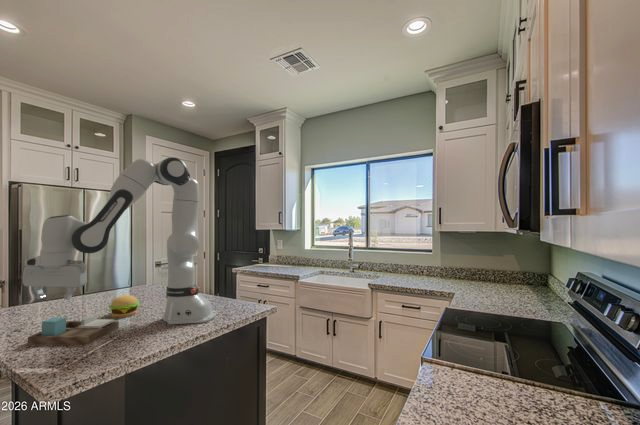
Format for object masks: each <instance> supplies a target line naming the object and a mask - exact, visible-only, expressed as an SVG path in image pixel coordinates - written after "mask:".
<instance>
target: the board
mask: <svg viewBox="0 0 640 425" xmlns="http://www.w3.org/2000/svg"><path fill="white" fill-rule="evenodd" d="M119 322H120V321H117V320H114V322H112V323H110V324H108V325H106V326H104V327H102V328H78V326H80V325H81V320H66V332H63V333H61V334H59V335H56V336H41V334H42V330H41V331H39V332H37V333H34V334H31V335H29V336H27V345H41V346H42V345H59V346H60V345H61V346H62V345H63V346H65V345H67V346H68V345H69V346H70V345H71V346H72V345H73V346H75V345H79V346H80V345H82V346H86V345H89V344H90V343H92V342H94V341H97V340H98V339H100V338H102V337H104V336H105V335H108V334H110V333H112V332H114V331H115V330H118V329H119V325H120V324H119Z"/></svg>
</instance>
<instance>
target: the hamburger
mask: <svg viewBox="0 0 640 425" xmlns="http://www.w3.org/2000/svg"><path fill="white" fill-rule="evenodd" d="M140 303H141V302H139V301H138V299H137V298H136V296H133V295H129V294H125V295H124V294H123V295H120V296H117V297H115V298H114V299H113V300H112V301H111V304H110V305H108V309H109V313H110V315H111V317H113V318H127V317H131V316H134V315H135V314H136V313H137V312H138V309H139V308H140V307H139V305H140Z"/></svg>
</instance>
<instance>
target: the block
mask: <svg viewBox="0 0 640 425" xmlns="http://www.w3.org/2000/svg"><path fill="white" fill-rule="evenodd" d="M66 322H67V317H66V316H65V317H59V316H57V317H55V316H53V317H51V318H48V319H46V320H43V321H42V320H41V331H42V334H41V336H56V335H59V334H61V333H63V332H66Z"/></svg>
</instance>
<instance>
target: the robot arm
mask: <svg viewBox="0 0 640 425" xmlns="http://www.w3.org/2000/svg"><path fill="white" fill-rule="evenodd" d="M153 183H156V184H158V185H162V186H171V187H172V190H173V199H172V210H171V234H169V236H168V237H167V239H166V255H167V269H168V270H167V271H168V272H167V286H166V292H165V293H166V294H165V297H166V303H165V310H164V313H163V316H162V321H164V322H166V323H167V325H179V324H180V325H183V324H184V325H186V324H199V323H200V324H201V323H206V322H207V323H208V322H210V321H212V320H213V319H215V318H216V317H217V311H216V310H212V309H213V307H212V303H211V301H210V300H209V299H208V298H206V297H204V296H203V295H202V294H201V293H199V290H200V289H201V286H199V285H198V286H197V285H196V283H195V279H196V278H195V277H196V266H195V261H194V254H195V253H197V251H198V250H199V247H200V240H199V239H200V234H199V232H200V231H199V209H200V186H199V185H200V184H199V182H198V180H196V179H195V178H192V177H191V174H190V172H189V171H188V166H187V165H186V163H185V162H184V161H183V160H182V159H180V158H178V157H167V158H165V159H163V160H161V161H159V162H158V163H152V162H151V161H149V160H147V159H145V158H137V159H136V160H134V161H133V162H131V163H130V164H129V165H128V166H127V167H126V168H125V169H124V170H123V171H122V172H121V173H120V174H119V175H118V177H117V178H116V179H115V181H114V183H113V184H112V186H111V188H110V192H109V197H108V200H107V202H106V203H105V205H103V207H102V208H101V209H100V211H99V212H98V213H97V214H96V216H95V217H94V218H93V219H92V220H91V221H90V222H86V221H83V220H80V219H78V218H76V217H74V216H73V215H71V214H65V215H63V214H62V215H55V216H54V215H53V216H50V217H48V218H46V219H45V220H44V221H43V224H42V227H41V228H42V229H41V235H40V240H41V241H40V242H41V248H40V251H39V252H40V253H39V254H40V255H37V256H33V257H31V258H27V259H25V260H24V262H23V264H24V266H25V267H24V269H23V271H22V272H23V273H22V285H23V286H24V287H33V290H34V292H35V293H36V299H37V300H43V299H45V298H46V294H47V293H46V292H44V290H43V289H44V287H47V288H48V287H52V288H53V287H54V288H55V287H57V288H59V287H60V288H61V287H62V288H66V291H67V293H66V294H63V300H67V301H68V300H71V299H72V298H73V293H74V292H75V290H77V288H79V287H84V286H85V285H86V284H87V283H88V275H87V273H88V272H87V264H86V263H85V262H84V261H82V260H74V250H77V251H78V252H79V253H83V254H95V253H98V252H100V251H102V250H103V249H104V248H105V247H106V246H107V243H108V242H109V238H110V237H109V236H110V234H111V233H110V232H111V231H112V228H113V227H114V226H115V224H116V223H117V222H118V220H119V219H120V218H121V217H122V216H123V214H124V213H125V211H126V210H127V209H129V208H130V207H131V206H132V205H134V204H135V203H136V202H138V200H139V199H140V198H142V196H143V195H144V194H145V193H146V192H147V190H149V188H150V187H151V186H152V184H153Z"/></svg>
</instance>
